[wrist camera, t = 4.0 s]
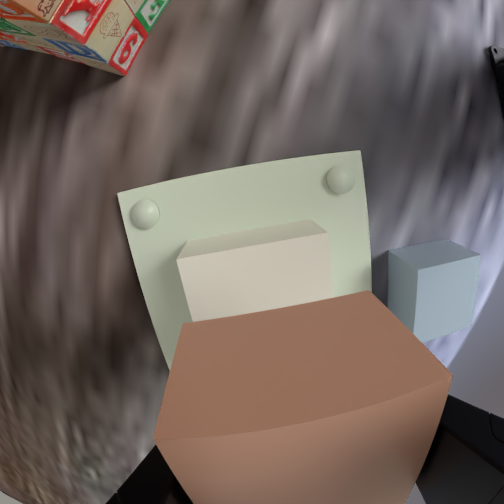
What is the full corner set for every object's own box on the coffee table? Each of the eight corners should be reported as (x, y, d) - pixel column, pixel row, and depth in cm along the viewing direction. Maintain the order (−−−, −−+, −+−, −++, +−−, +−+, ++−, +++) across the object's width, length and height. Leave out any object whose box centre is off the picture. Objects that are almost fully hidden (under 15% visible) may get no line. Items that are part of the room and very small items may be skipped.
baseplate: (356, 150, 17) (363, 150, 16) (368, 352, 21) (373, 359, 20) (120, 192, 17) (114, 193, 16) (178, 385, 21) (176, 394, 20)
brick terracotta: (369, 290, 8) (453, 375, 4) (363, 416, 9) (405, 503, 6) (182, 323, 8) (152, 439, 4) (222, 443, 9) (222, 542, 5)
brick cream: (310, 218, 17) (327, 232, 14) (321, 326, 19) (336, 357, 16) (187, 240, 17) (176, 259, 14) (213, 345, 19) (210, 379, 16)
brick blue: (445, 238, 19) (480, 254, 15) (441, 301, 20) (471, 325, 17) (387, 249, 19) (417, 270, 15) (386, 316, 20) (411, 346, 17)
